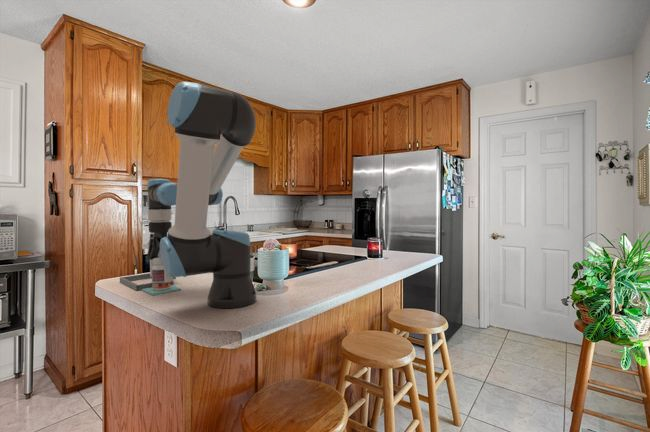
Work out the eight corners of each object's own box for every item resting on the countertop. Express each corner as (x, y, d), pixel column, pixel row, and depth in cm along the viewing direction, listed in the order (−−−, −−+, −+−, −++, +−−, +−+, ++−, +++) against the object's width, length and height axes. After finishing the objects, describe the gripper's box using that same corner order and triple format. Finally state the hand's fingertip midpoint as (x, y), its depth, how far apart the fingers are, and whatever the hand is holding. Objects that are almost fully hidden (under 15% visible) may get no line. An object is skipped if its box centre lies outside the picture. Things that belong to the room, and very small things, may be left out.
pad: (181, 290, 123) (181, 288, 123) (152, 295, 116) (152, 293, 116) (169, 285, 130) (169, 284, 130) (142, 290, 123) (142, 289, 123)
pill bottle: (172, 289, 122) (171, 258, 122) (153, 291, 119) (152, 260, 118) (169, 286, 127) (168, 256, 127) (151, 288, 124) (150, 257, 123)
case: (175, 284, 133) (175, 249, 132) (136, 290, 122) (135, 252, 122) (156, 276, 146) (155, 245, 146) (119, 282, 136) (119, 248, 136)
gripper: (185, 222, 116) (186, 282, 117) (157, 220, 133) (158, 272, 134) (163, 223, 111) (164, 286, 112) (137, 220, 128) (138, 275, 129)
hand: (161, 279), depth 123 cm, fingers open, 13 cm apart
